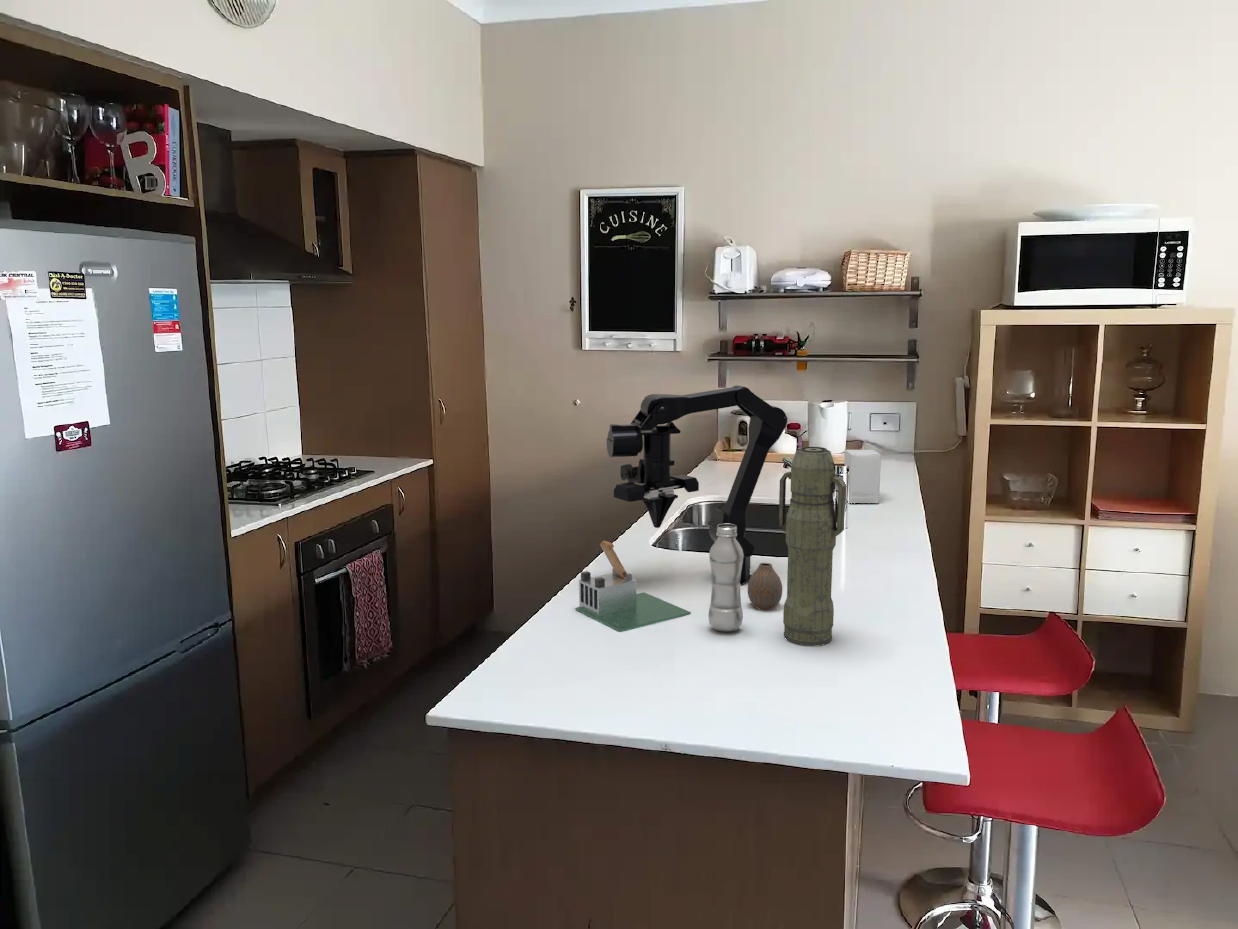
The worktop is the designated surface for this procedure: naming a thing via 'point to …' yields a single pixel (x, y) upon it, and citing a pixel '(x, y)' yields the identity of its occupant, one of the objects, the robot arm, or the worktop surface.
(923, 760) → the worktop surface
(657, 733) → the worktop surface
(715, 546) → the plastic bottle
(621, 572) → the tan flat bar
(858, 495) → the supplement box
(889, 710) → the worktop surface
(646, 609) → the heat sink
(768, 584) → the vase
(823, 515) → the thermos
